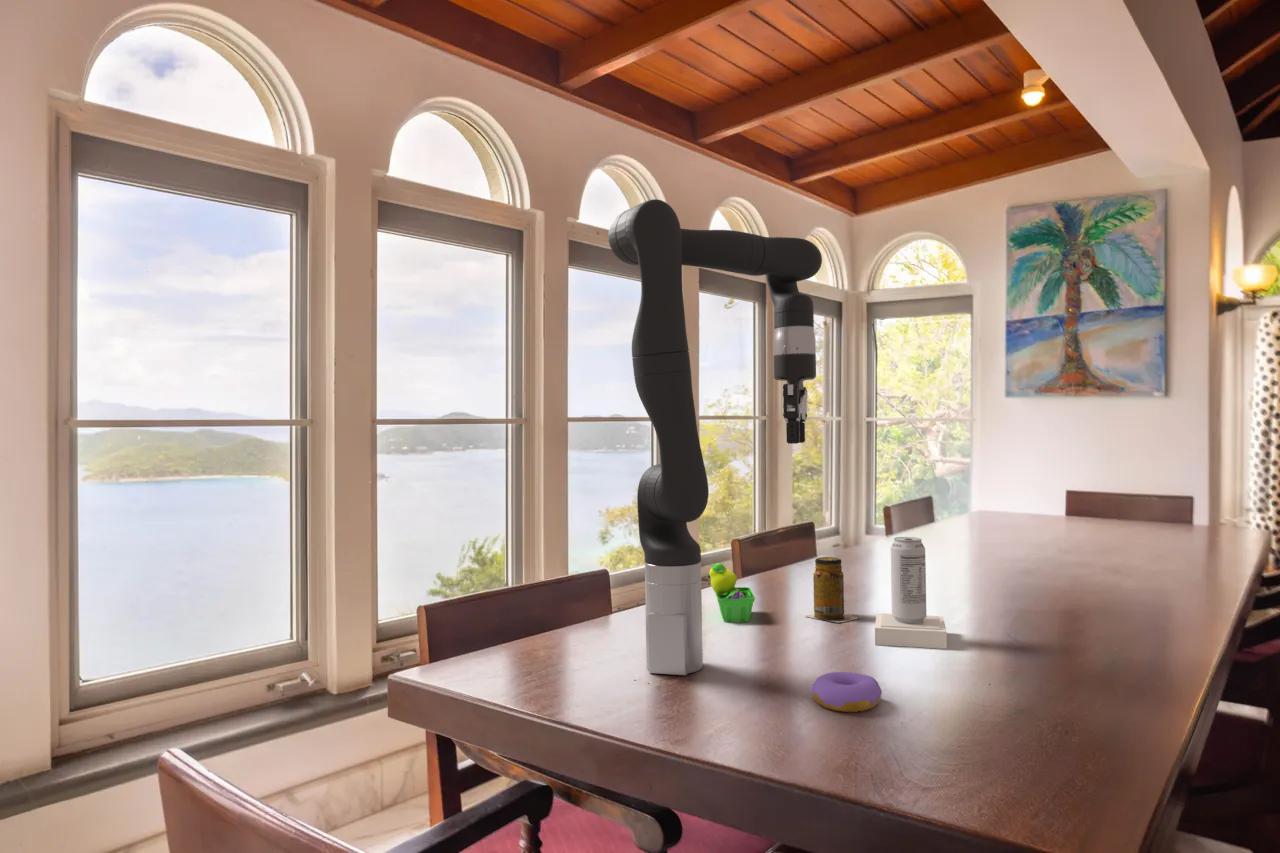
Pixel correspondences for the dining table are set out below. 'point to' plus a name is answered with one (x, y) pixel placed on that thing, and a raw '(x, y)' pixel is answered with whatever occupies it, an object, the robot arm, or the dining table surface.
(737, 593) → the fruit basket
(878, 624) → the beige rectangular box
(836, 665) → the dining table surface
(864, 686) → the donut
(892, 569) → the energy drink can
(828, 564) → the condiment
